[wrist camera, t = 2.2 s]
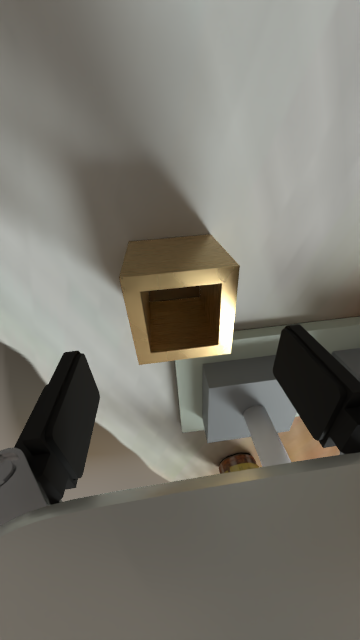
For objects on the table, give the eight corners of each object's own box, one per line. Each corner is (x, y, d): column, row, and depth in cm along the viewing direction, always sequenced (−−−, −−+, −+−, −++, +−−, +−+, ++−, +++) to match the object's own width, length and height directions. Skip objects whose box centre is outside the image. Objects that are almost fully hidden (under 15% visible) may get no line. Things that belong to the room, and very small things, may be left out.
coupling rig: (172, 338, 20) (186, 437, 13) (408, 310, 22) (542, 385, 14) (180, 423, 28) (192, 514, 21) (352, 399, 30) (419, 476, 22)
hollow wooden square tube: (128, 241, 15) (119, 277, 10) (210, 234, 15) (239, 266, 10) (141, 311, 18) (139, 364, 13) (209, 304, 19) (230, 353, 14)
